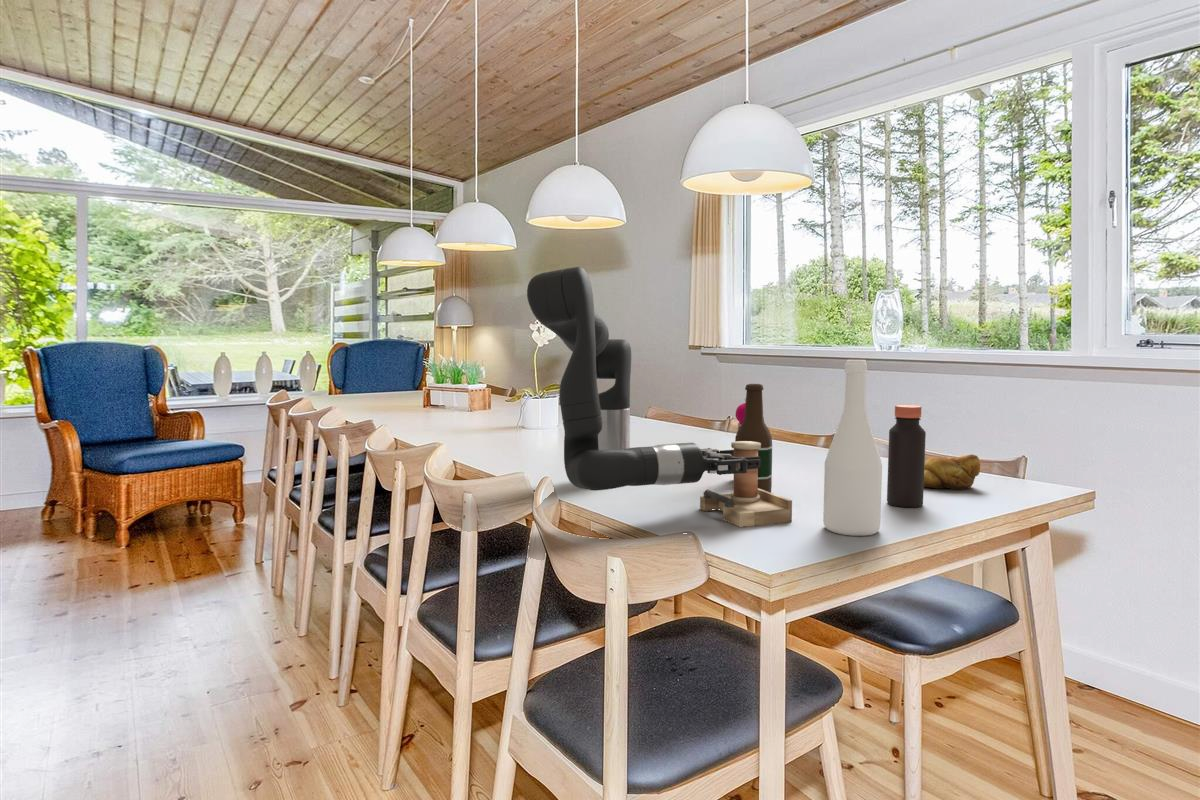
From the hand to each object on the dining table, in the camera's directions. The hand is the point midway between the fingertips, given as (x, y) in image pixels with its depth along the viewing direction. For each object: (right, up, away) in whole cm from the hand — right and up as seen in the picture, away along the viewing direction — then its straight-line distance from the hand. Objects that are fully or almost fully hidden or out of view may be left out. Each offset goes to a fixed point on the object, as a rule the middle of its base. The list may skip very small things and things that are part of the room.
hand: (748, 458), depth 142 cm
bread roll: (+49, -9, +24) cm, 55 cm away
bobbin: (0, -8, 0) cm, 8 cm away
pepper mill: (+6, -8, +31) cm, 32 cm away
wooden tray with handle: (-1, -11, -2) cm, 11 cm away
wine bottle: (+16, -12, -12) cm, 23 cm away
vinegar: (+33, -10, +7) cm, 35 cm away
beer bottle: (+4, -9, +14) cm, 17 cm away
